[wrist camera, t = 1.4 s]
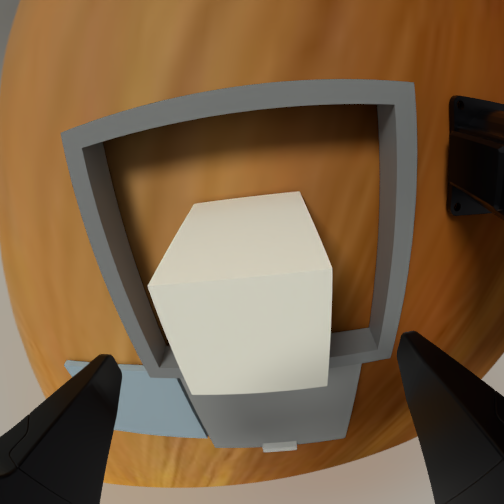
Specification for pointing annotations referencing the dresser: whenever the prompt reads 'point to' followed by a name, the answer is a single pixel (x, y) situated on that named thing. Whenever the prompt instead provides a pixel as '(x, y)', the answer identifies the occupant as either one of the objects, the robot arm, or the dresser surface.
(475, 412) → the robot arm
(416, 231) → the dresser surface
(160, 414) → the mat
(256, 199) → the block
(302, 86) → the grey open frame
